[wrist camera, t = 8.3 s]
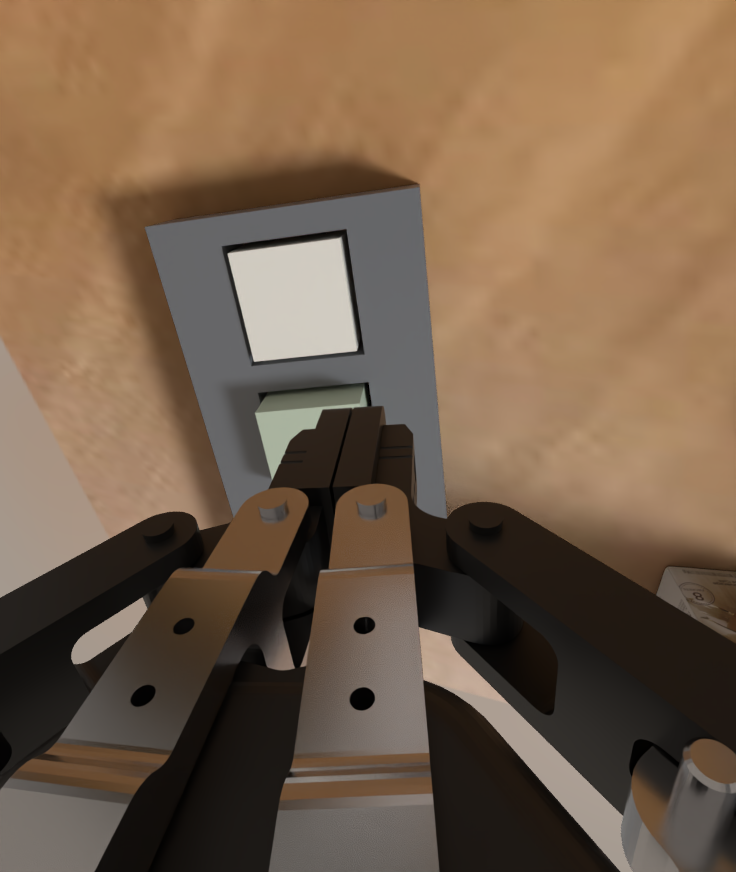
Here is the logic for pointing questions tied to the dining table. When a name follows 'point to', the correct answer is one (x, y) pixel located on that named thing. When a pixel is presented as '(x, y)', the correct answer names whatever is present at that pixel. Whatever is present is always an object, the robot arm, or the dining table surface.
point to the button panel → (372, 362)
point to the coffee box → (703, 596)
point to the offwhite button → (297, 295)
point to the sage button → (301, 413)
